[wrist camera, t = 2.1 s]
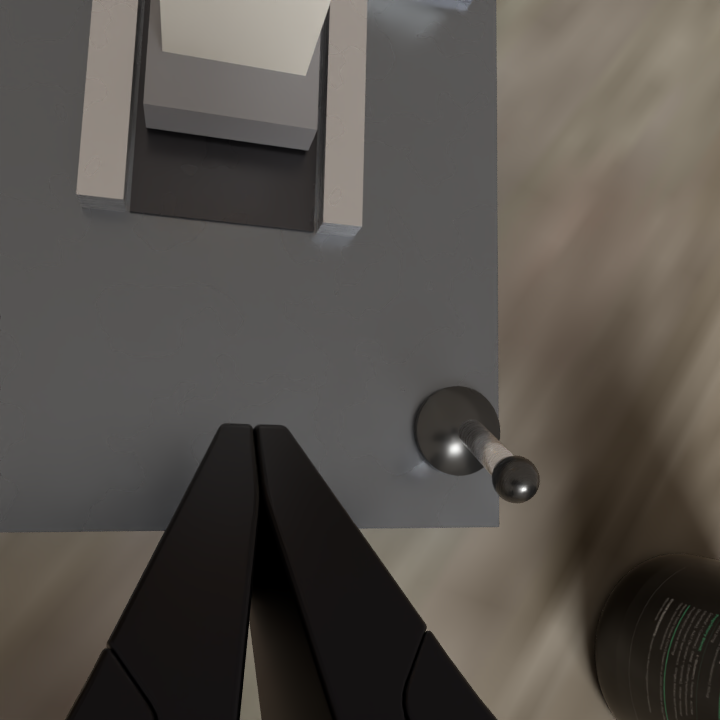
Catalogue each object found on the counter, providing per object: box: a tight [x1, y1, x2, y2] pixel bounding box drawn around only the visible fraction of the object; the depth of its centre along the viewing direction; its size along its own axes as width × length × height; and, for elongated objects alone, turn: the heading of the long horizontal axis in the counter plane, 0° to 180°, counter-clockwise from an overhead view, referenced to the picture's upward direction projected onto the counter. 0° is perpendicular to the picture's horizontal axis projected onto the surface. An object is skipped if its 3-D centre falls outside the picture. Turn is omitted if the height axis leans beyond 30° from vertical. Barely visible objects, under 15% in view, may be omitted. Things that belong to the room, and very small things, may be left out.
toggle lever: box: [458, 419, 540, 503], centre depth 18 cm, size 1×1×4 cm
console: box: [0, 0, 500, 532], centre depth 20 cm, size 24×18×2 cm
